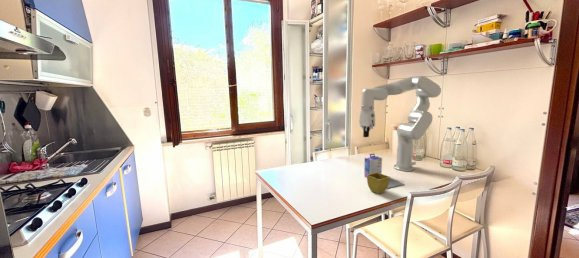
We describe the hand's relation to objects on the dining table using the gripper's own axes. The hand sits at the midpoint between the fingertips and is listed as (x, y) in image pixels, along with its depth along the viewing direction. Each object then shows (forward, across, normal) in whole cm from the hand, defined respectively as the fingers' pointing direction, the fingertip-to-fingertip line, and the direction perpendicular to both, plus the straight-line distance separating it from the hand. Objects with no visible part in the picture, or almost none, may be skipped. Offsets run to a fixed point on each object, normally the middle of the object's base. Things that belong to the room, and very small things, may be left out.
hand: (365, 136), depth 162 cm
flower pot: (+25, -26, +13) cm, 38 cm away
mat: (+24, -19, 0) cm, 31 cm away
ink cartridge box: (+24, -8, 0) cm, 26 cm away
